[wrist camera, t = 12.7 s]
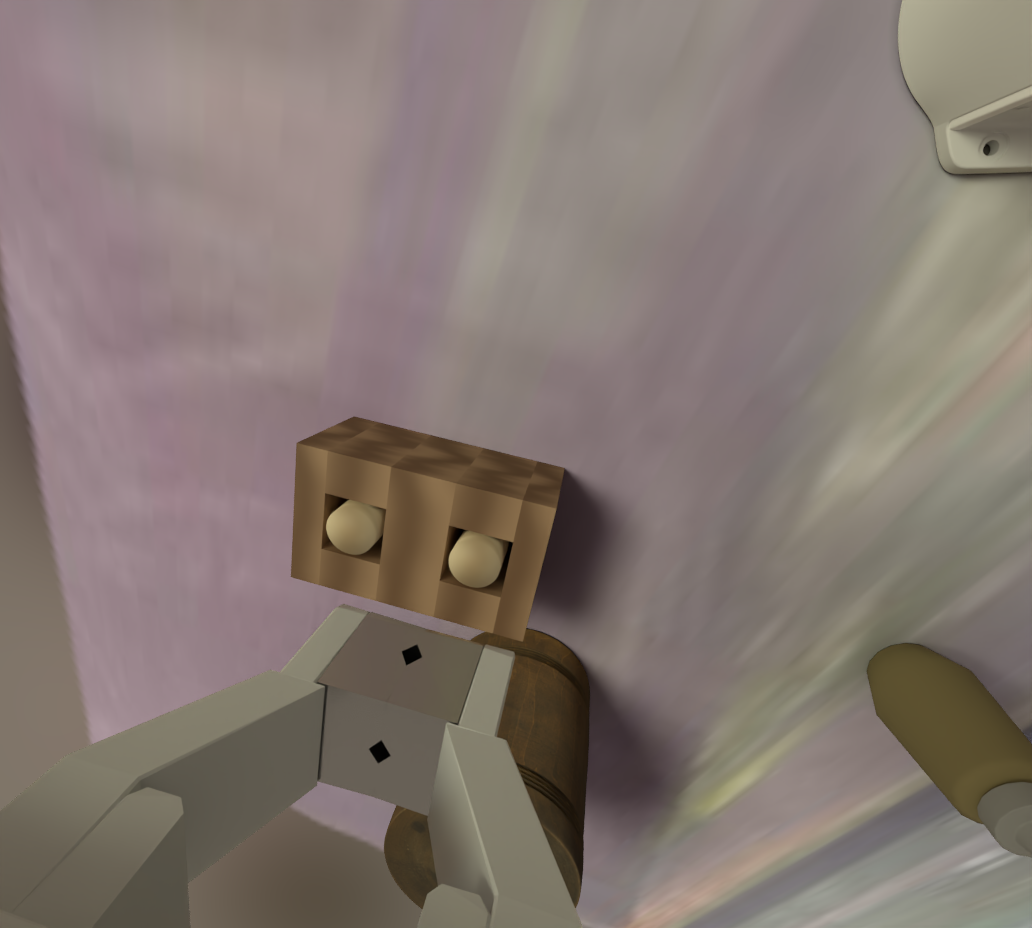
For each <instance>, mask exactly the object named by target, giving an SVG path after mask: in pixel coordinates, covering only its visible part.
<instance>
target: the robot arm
mask: <svg viewBox="0 0 1032 928" xmlns="http://www.w3.org/2000/svg"><path fill="white" fill-rule="evenodd" d="M898 48H899V56H900V62H901V67H902V71H903V74H904V77H905V80H906V82H907V85H908V87H909V89H910V91H911V93H912V94H913V96H914V98H915V99H916V101H917V102H918V103H919V105H920V106H921V107H922V109H923V110H924V111H925V113H926V114H927V115H928V117H929V119H930V120H931V122H932V124H933V127H934V133H935V141H936V147H937V153H938V157H939V160H940V163H941V165H942V167H943V168H944V169H945V170H946V171H947V172H949V173H952V174H982V173H1015V172H1032V0H902V5H901V10H900V17H899V27H898ZM985 144H988V145H989V146H990V153H989V154H988V156H986V155H985V154H984V153H983V148H984V146H985ZM514 660H515V653H514V652H513V651H509V650H505V649H501V648H498V647H494V646H490V645H484V644H480V643H476V642H473V641H469V640H465V639H462V638H458V637H454V636H451V635H447V634H443V633H440V632H436V631H432V630H429V629H425V628H422V627H419V626H416V625H412V624H409V623H406V622H403V621H399V620H396V619H393V618H390V617H386V616H383V615H380V614H377V613H373V612H371V613H370V612H368V611H365V610H362V609H358V608H355V607H352V606H349V605H345V604H342V605H340V606H338V607H337V608H335V609H334V610H333V611H332V613H331V614H330V615H329V616H328V617H327V618H326V619H325V621H324V622H323V623H322V624H321V625H320V626H319V628H318V629H317V630H316V631H315V632H314V633H313V634H312V636H311V637H310V638H309V639H308V640H307V641H306V643H305V644H304V645H303V646H302V647H301V648H300V649H299V651H298V652H297V653H296V654H295V655H294V656H293V658H292V659H291V660H290V661H289V662H288V663H287V664H286V666H285V667H284V668H283V669H282V670H281V671H280V672H276V671H272V670H269V671H266V672H264V673H262V674H259V675H257V676H254V677H252V678H250V679H247V680H245V681H243V682H240V683H238V684H235V685H233V686H231V687H228V688H226V689H223V690H221V691H219V692H216V693H214V694H211V695H209V696H207V697H204V698H202V699H199V700H197V701H195V702H192V703H190V704H188V705H185V706H183V707H180V708H178V709H176V710H173V711H171V712H168V713H166V714H164V715H161V716H159V717H156V718H154V719H152V720H149V721H147V722H145V723H142V724H140V725H137V726H135V727H133V728H130V729H128V730H125V731H123V732H121V733H118V734H116V735H113V736H111V737H109V738H106V739H104V740H101V741H99V742H97V743H94V744H92V745H90V746H87V747H85V748H82V749H80V750H78V751H75V752H73V753H70V754H68V755H66V756H65V757H63V758H62V759H61V760H60V761H59V762H58V763H56V764H55V765H54V766H53V767H52V768H51V769H49V770H48V771H47V772H46V773H45V774H43V775H42V776H41V777H40V778H39V779H37V780H36V781H35V782H34V783H33V784H32V785H30V786H29V787H28V788H27V789H26V790H25V791H24V792H22V793H21V794H20V795H19V796H17V797H16V798H15V799H14V800H13V801H11V802H10V803H9V804H8V805H7V806H6V807H4V808H3V809H2V810H1V811H0V928H190V911H189V896H188V883H189V882H190V881H192V880H193V879H194V878H196V877H197V876H198V875H200V874H201V873H202V872H204V871H205V870H206V869H207V868H209V867H210V866H211V865H213V864H214V863H215V862H217V861H218V860H219V859H221V858H222V857H223V856H225V855H226V854H227V853H229V852H230V851H231V850H233V849H234V848H235V847H236V846H238V845H239V844H240V843H242V842H243V841H244V840H246V839H247V838H248V837H250V836H251V835H252V834H253V833H255V832H256V831H258V830H259V829H260V828H262V827H263V826H264V825H265V824H267V823H268V822H269V821H271V820H272V819H273V818H275V817H276V816H277V815H279V814H280V813H281V812H283V811H284V810H285V809H286V808H288V807H289V806H290V805H292V804H293V803H294V802H296V801H297V800H298V799H300V798H301V797H302V796H304V795H305V794H306V793H308V792H309V791H310V790H312V789H313V788H314V787H315V786H317V781H319V782H322V783H326V784H329V785H333V786H336V787H340V788H344V789H347V790H351V791H354V792H358V793H361V794H365V795H369V796H372V797H375V798H378V799H381V800H384V801H386V802H389V803H392V804H395V805H398V806H401V807H404V808H406V809H409V810H412V811H415V812H418V813H421V814H424V815H426V816H428V818H427V821H428V827H429V833H430V839H431V846H432V852H433V858H434V864H435V870H436V877H437V883H438V887H436V888H435V889H434V890H432V891H431V892H429V893H428V894H427V897H426V900H425V903H424V907H423V910H422V913H421V917H420V920H419V923H418V926H417V928H582V924H581V921H580V919H579V917H578V914H577V912H576V909H575V907H574V904H573V902H572V899H571V897H570V895H569V892H568V890H567V887H566V885H565V882H564V880H563V877H562V875H561V873H560V870H559V868H558V865H557V863H556V860H555V858H554V855H553V853H552V851H551V848H550V846H549V843H548V841H547V838H546V836H545V833H544V831H543V829H542V826H541V824H540V821H539V819H538V816H537V814H536V811H535V809H534V807H533V804H532V802H531V799H530V797H529V794H528V792H527V789H526V787H525V785H524V782H523V780H522V777H521V775H520V772H519V770H518V767H517V765H516V762H515V760H514V758H513V755H512V753H511V750H510V748H509V745H508V743H507V740H504V739H501V738H498V737H497V733H498V729H499V724H500V720H501V716H502V712H503V707H504V703H505V699H506V694H507V690H508V686H509V681H510V677H511V673H512V668H513V664H514Z"/></svg>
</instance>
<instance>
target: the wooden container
mask: <svg viewBox="0 0 1032 928" xmlns="http://www.w3.org/2000/svg"><path fill="white" fill-rule="evenodd" d="M470 641H473V642H476V643H480V644H484V645H490V646H494V647H498V648H501V649H505V650H509V651H513V652H514V653H515V660H514V664H513V668H512V673H511V677H510V681H509V686H508V690H507V694H506V699H505V703H504V707H503V712H502V716H501V720H500V724H499V729H498V733H497V737H498V738H501V739H504V740H507V743H508V745H509V748H510V750H511V753H512V755H513V758H514V760H515V762H516V765H517V767H518V770H519V772H520V775H521V777H522V780H523V782H524V785H525V787H526V789H527V792H528V794H529V797H530V799H531V802H532V804H533V807H534V809H535V811H536V814H537V816H538V819H539V821H540V824H541V826H542V829H543V831H544V833H545V836H546V838H547V841H548V843H549V846H550V848H551V851H552V853H553V855H554V858H555V860H556V863H557V865H558V868H559V870H560V873H561V875H562V877H563V880H564V882H565V885H566V887H567V890H568V892H569V895H570V897H571V899H572V902H573V904H574V907H575V908H576V906H577V904H578V901H579V898H580V892H581V884H582V874H583V850H584V848H583V846H584V842H583V834H584V817H585V798H586V781H587V767H588V747H589V705H590V690H589V682H588V678H587V675H586V672H585V670H584V668H583V666H582V665H581V663H580V661H579V660H578V659H577V657H576V656H575V655H574V654H573V653H572V652H571V651H570V650H569V649H568V648H567V647H566V646H565V645H563V644H562V643H561V642H559V641H558V640H556V639H554V638H552V637H550V636H548V635H546V634H543V633H541V632H537V631H534V630H530V629H526V631H525V635H524V639H523V642H522V641H518V640H514V639H511V638H507V637H504V636H500V635H497V634H493V633H489V632H484V633H482V634H480V635H478V636H476V637H474V638H473V639H472V640H470ZM427 818H428V816H426V815H424V814H421V813H418V812H415V811H412V810H409V809H406V808H404V807H401V806H398V805H397V806H396V808H395V811H394V813H393V816H392V818H391V821H390V824H389V826H388V829H387V833H386V836H385V842H384V853H385V858H386V862H387V865H388V868H389V870H390V872H391V875H392V877H393V878H394V880H395V882H396V883H397V885H398V886H399V887H400V888H401V890H402V891H403V892H404V893H405V894H406V895H407V896H408V897H409V898H410V899H411V900H412V901H413V902H414V903H415V904H416V905H418V906H419V907H420V908H421V909H423V907H424V903H425V900H426V897H427V894H428V893H429V892H431V891H432V890H434V889H435V888H436V887H438V883H437V877H436V870H435V864H434V858H433V852H432V846H431V839H430V833H429V827H428V821H427Z"/></svg>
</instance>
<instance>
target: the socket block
mask: <svg viewBox="0 0 1032 928" xmlns="http://www.w3.org/2000/svg"><path fill="white" fill-rule="evenodd" d="M564 469H565V468H562V467H558V466H554V465H550V464H545V463H541V462H537V461H533V460H529V459H525V458H521V457H517V456H513V455H509V454H505V453H501V452H497V451H492V450H488V449H484V448H480V447H476V446H472V445H468V444H464V443H460V442H456V441H452V440H448V439H444V438H439V437H435V436H431V435H427V434H423V433H419V432H415V431H411V430H407V429H403V428H399V427H395V426H391V425H387V424H382V423H378V422H374V421H370V420H366V419H362V418H358V417H352V418H350V419H348V420H345V421H343V422H341V423H339V424H337V425H335V426H332V427H330V428H328V429H326V430H324V431H322V432H319V433H317V434H315V435H313V436H311V437H309V438H306V439H304V440H302V441H300V442H298V443H297V447H296V471H295V495H294V519H293V542H292V566H291V577H293V578H296V579H300V580H303V581H307V582H310V583H314V584H318V585H321V586H325V587H328V588H332V589H336V590H339V591H343V592H346V593H350V594H353V595H357V596H361V597H364V598H368V599H371V600H375V601H378V602H382V603H386V604H389V605H393V606H396V607H400V608H404V609H407V610H411V611H414V612H418V613H421V614H425V615H429V616H432V617H436V618H439V619H443V620H446V621H450V622H454V623H457V624H461V625H464V626H468V627H472V628H475V629H479V630H482V631H486V632H489V633H493V634H497V635H500V636H504V637H507V638H511V639H514V640H518V641H522V642H523V639H524V635H525V631H526V627H527V623H528V619H529V615H530V611H531V607H532V603H533V599H534V596H535V592H536V588H537V584H538V580H539V576H540V572H541V568H542V564H543V560H544V556H545V552H546V548H547V544H548V541H549V537H550V533H551V529H552V525H553V521H554V517H555V513H556V509H557V504H558V499H559V494H560V489H561V484H562V479H563V474H564ZM349 499H350V500H353V501H357V502H361V503H365V504H369V505H373V506H376V507H380V508H384V509H386V516H385V524H384V533H383V535H382V536H381V537H380V538H379V540H378V541H377V542H376V543H375V544H374V545H373V546H372V547H371V548H370V549H369V550H368V551H367V552H365V553H362V554H358V555H352V554H348V553H345V552H343V551H341V550H339V549H338V548H337V547H336V546H334V544H333V543H332V542H331V540H330V539H329V537H328V534H327V530H326V524H327V520H328V518H329V516H330V515H331V514H332V513H333V512H334V511H335V510H337V509H338V508H339V507H340V506H342V505H343V504H344V503H345V502H347V501H348V500H349ZM464 530H468V531H472V532H476V533H480V534H484V535H487V536H491V537H495V538H499V539H503V540H506V541H510V545H509V547H508V550H507V553H506V556H505V558H504V561H503V564H502V567H501V569H500V572H499V575H498V577H497V578H496V580H495V581H494V582H493V583H491V584H490V585H488V586H485V587H480V588H474V587H469V586H466V585H464V584H462V583H461V582H459V581H458V580H457V579H456V578H455V577H454V576H453V574H452V573H451V570H450V568H449V556H450V553H451V551H452V549H453V548H454V546H455V544H456V543H457V541H458V539H459V538H460V536H461V534H462V533H463V531H464Z"/></svg>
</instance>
